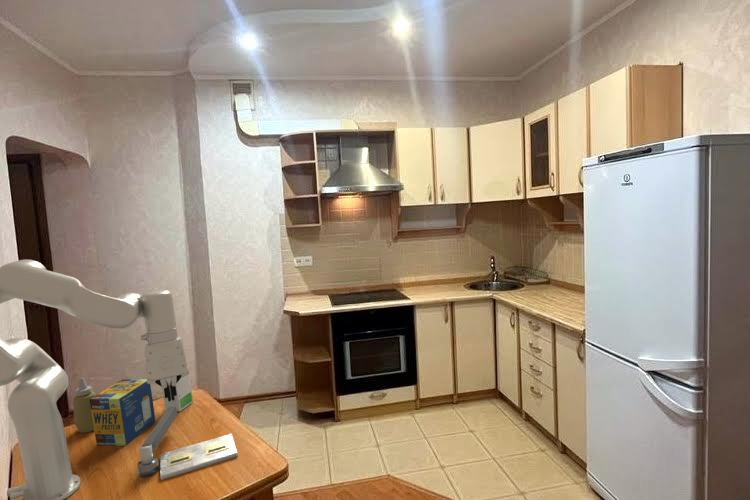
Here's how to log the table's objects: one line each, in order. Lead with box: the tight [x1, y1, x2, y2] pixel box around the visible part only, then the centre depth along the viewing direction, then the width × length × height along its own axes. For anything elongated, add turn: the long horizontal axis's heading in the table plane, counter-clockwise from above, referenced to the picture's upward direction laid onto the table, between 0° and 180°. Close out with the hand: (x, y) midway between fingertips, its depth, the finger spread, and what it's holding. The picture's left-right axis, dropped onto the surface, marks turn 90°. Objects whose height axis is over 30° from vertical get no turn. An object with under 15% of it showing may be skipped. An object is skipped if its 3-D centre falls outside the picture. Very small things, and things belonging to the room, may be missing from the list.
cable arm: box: [138, 406, 178, 465], centre depth 134 cm, size 26×3×4 cm, turn 8°
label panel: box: [159, 433, 239, 481], centre depth 129 cm, size 20×12×2 cm, turn 115°
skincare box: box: [161, 361, 194, 413], centre depth 162 cm, size 8×7×16 cm
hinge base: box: [137, 456, 160, 479], centre depth 123 cm, size 5×5×3 cm
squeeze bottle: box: [72, 377, 97, 434], centre depth 150 cm, size 8×8×18 cm
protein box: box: [89, 378, 156, 447], centre depth 145 cm, size 10×15×16 cm
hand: (171, 399), depth 124 cm, fingers closed
